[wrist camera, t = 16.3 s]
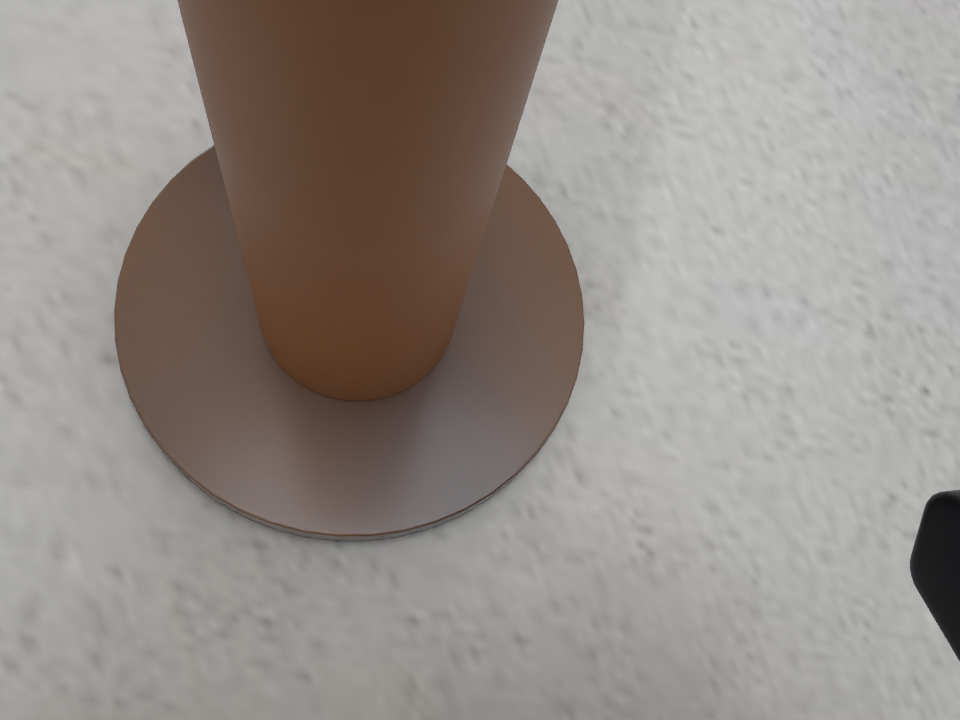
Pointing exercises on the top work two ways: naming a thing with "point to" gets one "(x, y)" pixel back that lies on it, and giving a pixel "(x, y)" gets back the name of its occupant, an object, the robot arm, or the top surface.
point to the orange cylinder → (362, 167)
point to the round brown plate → (336, 422)
